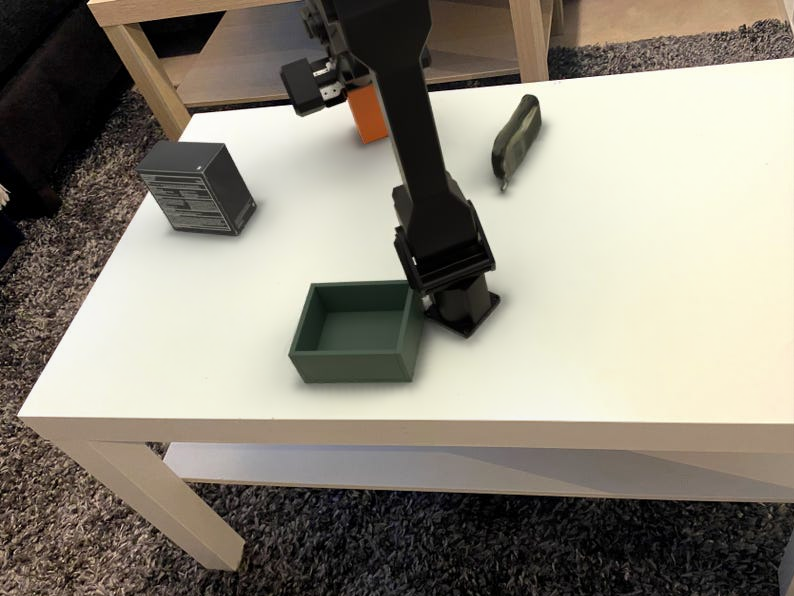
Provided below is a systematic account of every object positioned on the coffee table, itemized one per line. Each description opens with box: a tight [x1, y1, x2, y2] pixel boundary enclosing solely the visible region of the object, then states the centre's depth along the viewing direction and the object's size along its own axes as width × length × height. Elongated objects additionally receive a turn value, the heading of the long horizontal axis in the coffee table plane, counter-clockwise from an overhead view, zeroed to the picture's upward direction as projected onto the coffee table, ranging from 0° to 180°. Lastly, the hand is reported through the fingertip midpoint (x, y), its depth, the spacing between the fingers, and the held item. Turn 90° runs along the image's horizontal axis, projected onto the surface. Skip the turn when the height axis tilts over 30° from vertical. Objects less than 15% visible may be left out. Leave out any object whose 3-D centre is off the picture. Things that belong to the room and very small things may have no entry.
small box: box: [134, 140, 258, 236], centre depth 96 cm, size 11×6×10 cm, turn 74°
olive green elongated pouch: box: [490, 93, 543, 192], centre depth 96 cm, size 5×3×15 cm
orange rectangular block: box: [344, 85, 389, 145], centre depth 101 cm, size 4×4×14 cm
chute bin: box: [287, 279, 427, 384], centre depth 80 cm, size 12×10×5 cm
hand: (358, 87), depth 102 cm, fingers closed on orange rectangular block, 4 cm apart
